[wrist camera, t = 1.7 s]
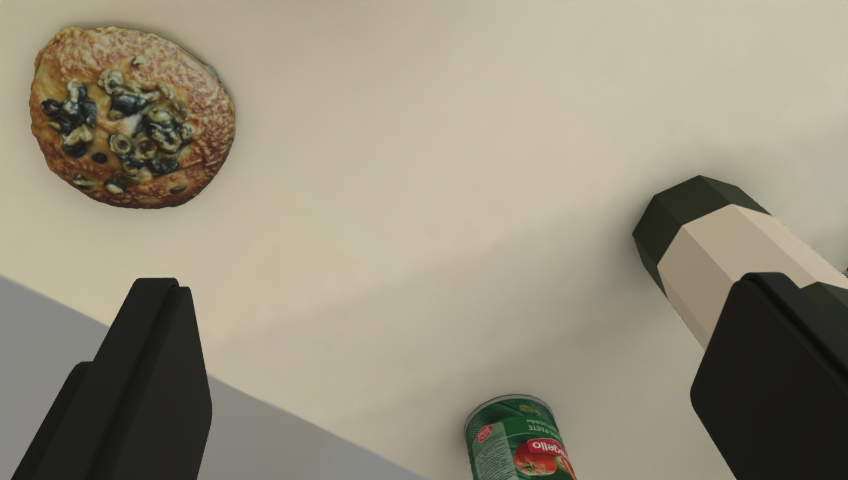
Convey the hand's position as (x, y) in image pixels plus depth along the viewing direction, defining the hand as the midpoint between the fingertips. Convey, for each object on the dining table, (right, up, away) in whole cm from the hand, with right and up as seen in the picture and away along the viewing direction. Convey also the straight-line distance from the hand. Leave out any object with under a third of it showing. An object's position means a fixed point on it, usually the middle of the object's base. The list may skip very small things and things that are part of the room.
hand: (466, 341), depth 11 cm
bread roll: (-17, +9, +25) cm, 32 cm away
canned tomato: (+7, -14, +42) cm, 45 cm away
